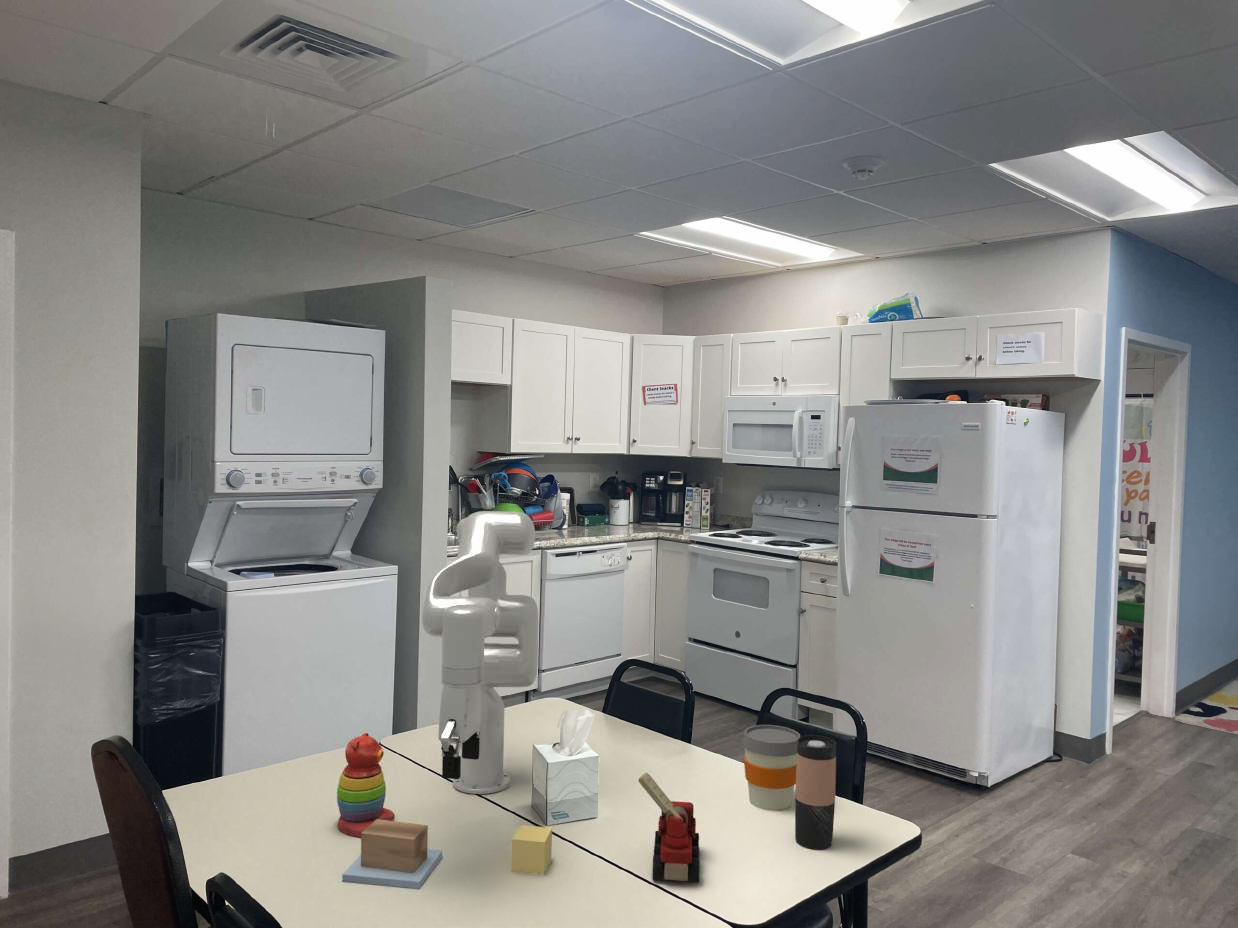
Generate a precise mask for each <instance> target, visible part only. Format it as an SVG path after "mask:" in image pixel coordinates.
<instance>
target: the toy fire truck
mask: <svg viewBox="0 0 1238 928" xmlns="http://www.w3.org/2000/svg"><path fill="white" fill-rule="evenodd" d="M637 781H638V783H639V784H640V785H641V787H642V788H643V789H644V790H645V792H646V793H647V794H648V795H649V796H650V798H651V799H652V800H653V801H654V803H655V804H656V805H657V806H658V807H659V809H660V810H661V815H659V818H658V824H657V825H658V829H657V830H655V831H654V832H655V834H654V846H653V855H652V873H651V877H652V880H655V881H657V880H659V881H664V880H665V881H666V880H667V881H679V882H680V881H681V882H693V883H697V882H700V843H699V842H700V834H699V832H697V831H696V828H697V827H696V826H697V825H696V824H697V823H696V822H697V821H696V818H695V817H694V812H695V811H694V804H693V802H689V801H675V800H670V798H669V797H668V796H667V795H666V793H665V792H664V791H663V790H662V789H661V787H660V786H659V785H658V784H657V781H656V780H655V779H653V777H652V776H651V775H650V774H649V773H648V772H645V773H643V774H641V776H640V777H639V778H638V780H637Z"/></svg>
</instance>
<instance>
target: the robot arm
mask: <svg viewBox="0 0 1238 928" xmlns="http://www.w3.org/2000/svg"><path fill="white" fill-rule="evenodd" d="M456 536H457V542H458V551H457V555H456V559H453V560H452V561H451V562H450V563H448V564H446V565H445V566H443V568H442V569H440V570H439V571H438V572H437V573H436V574H435V575H434V576H433V577H432V579H431V581H430V582H429V584H428V586H427V590H426V595H425V599H424V602H423V607H422V615H421V617H422V618H421V620H422V626H423V629H424V631H425V632H426V634H428V635H429V636H431V637H435V638H437V637H438V638H442V639H441V640H442V641H441V642H442V643H441V649H442V650H441V684H442V685H443V686H442V691H441V695H440V696H441V699H440V703H439V704H440V707H439V717H438V718H439V722H438V734H437V737H438V740H439V741H440V742H441V748H440V749H441V757H442V761H441V763H442V765H441V767H442V768H441V769H442V771H441V777H442V779H451V780H452V782H453V783H452V784H453V787H454V788H455V789H456V790H457V791H460V792H462V793H466V794H471V795H486V794H487V795H488V794H493V793H497V792H500V791H503V790H505V789H506V788H507V787H509V785H510V783H511V777H510V775H509V774H508V773H507V772H505V771H504V757H505V756H504V751H505V749H504V747H505V746H504V745H505V704H504V702H503V699H502V697H501V696H500V694H499V693H498V692H497V690H496V689H495V688H526V687H530V686H532V685H534V683H535V681H536V679H537V674H538V664H539V663H538V661H539V659H538V658H539V655H538V654H539V651H538V650H539V609H538V605H537V602H536V600H535V599H534V598H533V597H531V596H529V595H525V594H507V571H506V569H505V567H504V566H503V564H502V562H501V561H500V555H508V556H509V555H512V556H513V555H517V556H519V555H520V556H523V555H529V554H530V553H531V552H532V550H533V548H534V546H535V543H536V528H535V526H534V522H533V521H532V519H531V517H530V516H529V515H528V514H527V513H524V512H521V511H520V512H519V511H504V510H503V511H497V510H492V511H491V510H489V511H488V510H482V511H476V512H473V513H471V514H469V515H468V516H467V517H465V518H462V519H461V520H459V522H458V523H457V527H456ZM465 591H467V596H454V595H455V594H457V593H458V594H459V593H461V592H465ZM486 638H514V639H516V640H517V642H518V643H501V642H498V643H497V642H495V643H494V642H487V643H486V641H485V639H486ZM453 744H454V745H455V747H454V745H453Z"/></svg>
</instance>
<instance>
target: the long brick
mask: <svg viewBox="0 0 1238 928" xmlns="http://www.w3.org/2000/svg"><path fill="white" fill-rule="evenodd" d="M428 827H429V825H428V824H427V825H426V824H422V823H421V824H419V823H410V822H404V821H396V820H393V821H388V820H380V819H377V820H376V821H375V822H373V823H372V824H371V825H370V826H369V827H368V828H367V829H365V830H364V831H363V832H362V833H361V837H360V855H361V866H362V867H370V868H377V869H385V870H392V871H400V872H407V873H414V872H415V871H416V870H417V868H418V867H419V866H420V865H421V864H422V863H423V862H424V861H425V860H426V859H427V849H428V838H429V835H428V833H429V832H428V831H429V828H428Z"/></svg>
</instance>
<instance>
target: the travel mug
mask: <svg viewBox="0 0 1238 928" xmlns="http://www.w3.org/2000/svg"><path fill="white" fill-rule="evenodd" d="M836 775H837V742H836V741H835V739H833V738H830V737H827V736H824V735H823V736H822V735H818V734H817V735H815V734H807V735H802V736H800V737H799V738H798V742H797V766H796V784H795V792H794V793H795V794H794V797H795V798H794V800H795V802H794V809H795V811H794V814H795V815H794V816H795V817H794V819H795V821H794V828H795V829H794V832H795V833H794V835H795V842H796V844H798V845H799V846H800V847H803V848H806V849H809V850H813V851H817V850H818V851H819V850H822V851H823V850H827V849H829V848H831V847H832V845H833V840H834V839H833V837H834V821H835V808H836V807H835V806H836V781H837V780H836V778H837V776H836Z"/></svg>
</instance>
